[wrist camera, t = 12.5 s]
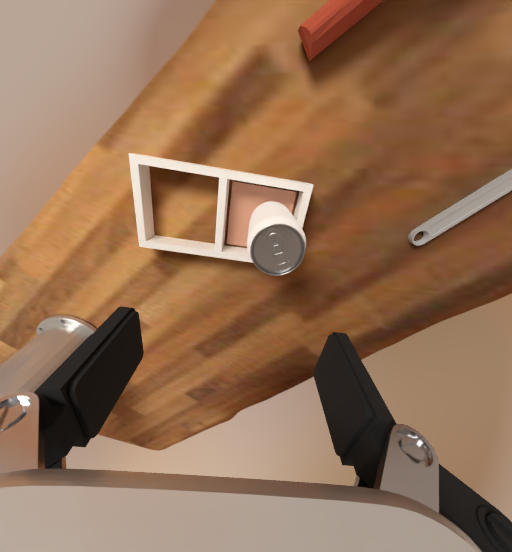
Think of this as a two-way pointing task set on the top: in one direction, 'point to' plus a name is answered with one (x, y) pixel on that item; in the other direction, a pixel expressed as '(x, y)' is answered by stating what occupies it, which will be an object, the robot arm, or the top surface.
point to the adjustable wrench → (463, 209)
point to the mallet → (332, 23)
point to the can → (275, 239)
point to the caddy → (241, 206)
